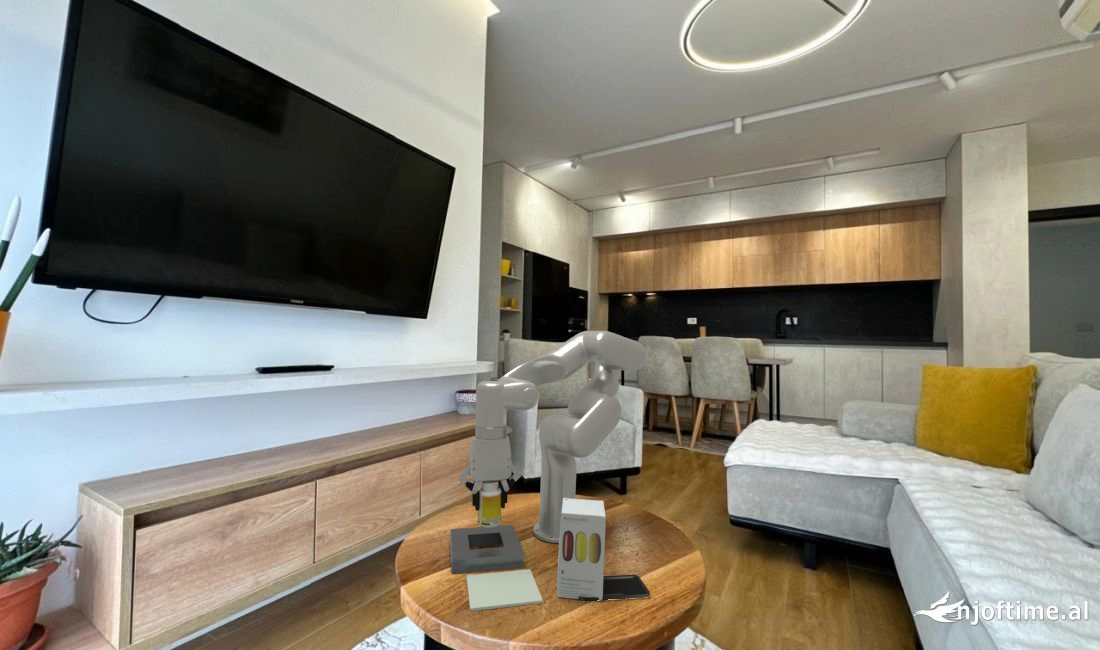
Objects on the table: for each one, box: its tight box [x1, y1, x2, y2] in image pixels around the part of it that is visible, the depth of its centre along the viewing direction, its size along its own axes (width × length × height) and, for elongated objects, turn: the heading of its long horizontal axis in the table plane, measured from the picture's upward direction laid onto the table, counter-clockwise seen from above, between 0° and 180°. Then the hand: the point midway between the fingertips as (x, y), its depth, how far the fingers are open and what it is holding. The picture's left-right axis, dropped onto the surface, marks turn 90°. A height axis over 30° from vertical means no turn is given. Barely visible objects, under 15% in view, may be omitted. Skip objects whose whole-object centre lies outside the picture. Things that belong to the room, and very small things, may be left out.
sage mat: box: [465, 568, 544, 612], centre depth 88 cm, size 14×12×1 cm
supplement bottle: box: [477, 480, 502, 528], centre depth 104 cm, size 6×6×10 cm
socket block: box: [449, 524, 525, 575], centre depth 103 cm, size 16×16×3 cm
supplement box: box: [556, 498, 607, 600], centre depth 91 cm, size 10×9×17 cm
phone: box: [578, 574, 651, 602], centre depth 90 cm, size 8×1×15 cm
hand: (489, 506), depth 104 cm, fingers closed on supplement bottle, 5 cm apart
